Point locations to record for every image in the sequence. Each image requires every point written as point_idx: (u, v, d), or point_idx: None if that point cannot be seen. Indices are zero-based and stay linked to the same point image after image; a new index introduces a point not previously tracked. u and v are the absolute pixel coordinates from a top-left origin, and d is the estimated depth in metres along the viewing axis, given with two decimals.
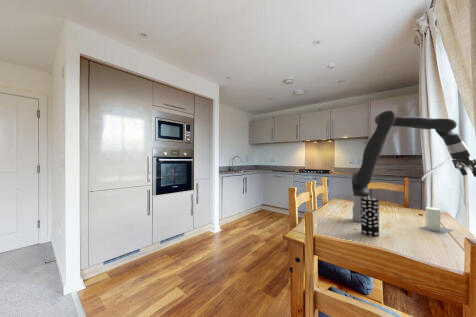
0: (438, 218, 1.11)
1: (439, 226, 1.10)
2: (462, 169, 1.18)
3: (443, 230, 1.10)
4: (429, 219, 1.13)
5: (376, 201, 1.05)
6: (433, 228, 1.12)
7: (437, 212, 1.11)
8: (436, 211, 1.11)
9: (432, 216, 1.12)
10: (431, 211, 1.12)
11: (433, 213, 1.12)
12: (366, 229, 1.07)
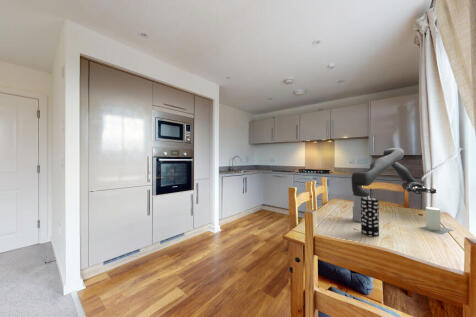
0: (438, 218, 1.11)
1: (439, 226, 1.10)
2: None
3: (443, 230, 1.10)
4: (429, 219, 1.13)
5: (376, 201, 1.05)
6: (433, 228, 1.12)
7: (437, 212, 1.11)
8: (436, 211, 1.11)
9: (432, 216, 1.12)
10: (431, 211, 1.12)
11: (433, 213, 1.12)
12: (366, 229, 1.07)
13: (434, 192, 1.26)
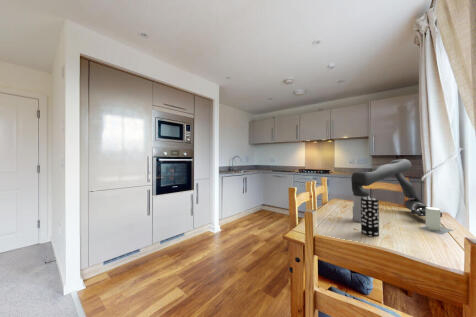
0: (438, 218, 1.11)
1: (439, 226, 1.10)
2: None
3: (443, 230, 1.10)
4: (429, 219, 1.13)
5: (376, 201, 1.05)
6: (433, 228, 1.12)
7: (437, 212, 1.11)
8: (436, 211, 1.11)
9: (432, 216, 1.12)
10: (431, 211, 1.12)
11: (433, 213, 1.12)
12: (366, 229, 1.07)
13: (440, 216, 1.19)
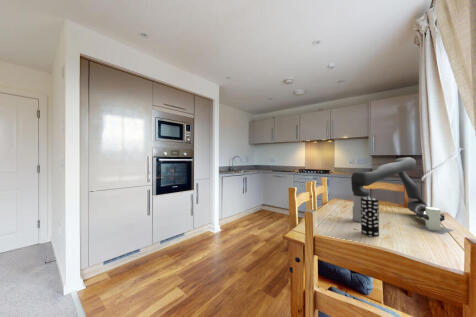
0: (438, 218, 1.11)
1: (439, 226, 1.10)
2: None
3: (443, 230, 1.10)
4: (429, 219, 1.13)
5: (376, 201, 1.05)
6: (433, 228, 1.12)
7: (437, 212, 1.11)
8: (436, 211, 1.11)
9: (432, 216, 1.12)
10: (431, 211, 1.12)
11: (433, 213, 1.12)
12: (366, 229, 1.07)
13: None
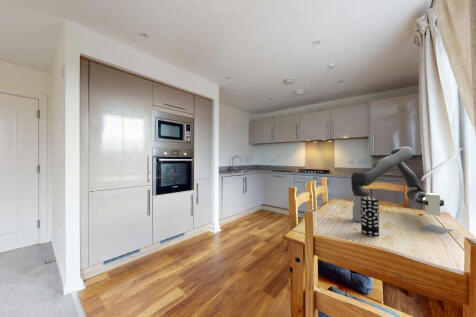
0: (438, 203, 1.10)
1: (438, 211, 1.10)
2: None
3: (443, 230, 1.10)
4: (429, 204, 1.12)
5: (376, 201, 1.05)
6: (432, 213, 1.12)
7: (437, 197, 1.11)
8: (436, 196, 1.11)
9: (431, 201, 1.12)
10: (431, 197, 1.12)
11: (433, 198, 1.11)
12: (366, 229, 1.07)
13: None
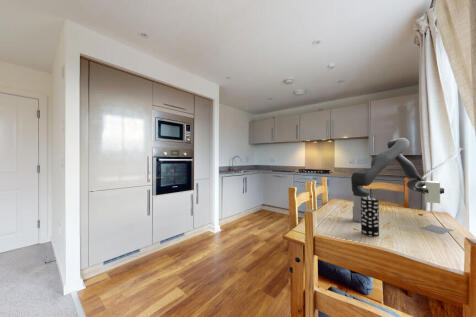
0: (438, 191, 1.10)
1: (439, 198, 1.10)
2: None
3: (443, 230, 1.10)
4: (429, 192, 1.12)
5: (376, 201, 1.05)
6: (433, 201, 1.12)
7: (437, 185, 1.11)
8: (436, 184, 1.11)
9: (431, 189, 1.12)
10: (431, 184, 1.12)
11: (433, 185, 1.11)
12: (366, 229, 1.07)
13: None
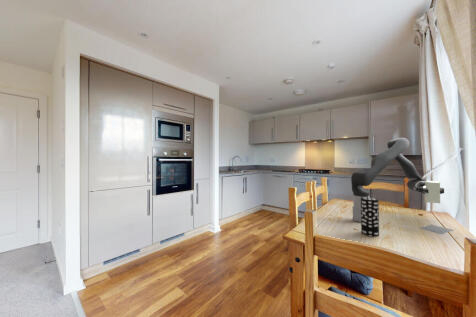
0: (438, 190, 1.10)
1: (439, 198, 1.10)
2: None
3: (443, 230, 1.10)
4: (429, 192, 1.12)
5: (376, 201, 1.05)
6: (433, 201, 1.12)
7: (437, 185, 1.11)
8: (436, 184, 1.11)
9: (431, 189, 1.12)
10: (431, 184, 1.12)
11: (433, 185, 1.11)
12: (366, 229, 1.07)
13: None
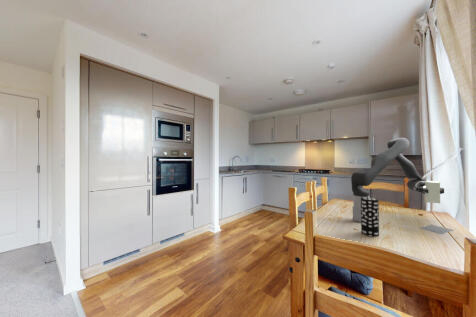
0: (438, 190, 1.10)
1: (439, 198, 1.10)
2: None
3: (443, 230, 1.10)
4: (429, 192, 1.12)
5: (376, 201, 1.05)
6: (433, 201, 1.12)
7: (437, 185, 1.11)
8: (436, 184, 1.11)
9: (431, 189, 1.12)
10: (431, 184, 1.12)
11: (433, 185, 1.11)
12: (366, 229, 1.07)
13: None
